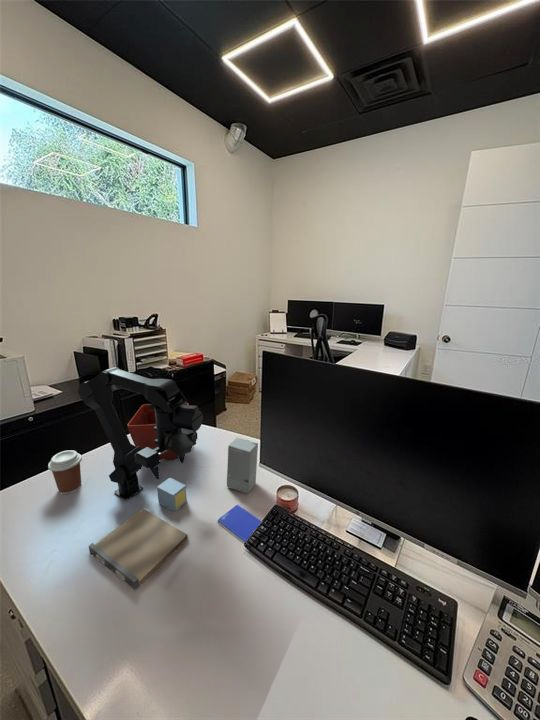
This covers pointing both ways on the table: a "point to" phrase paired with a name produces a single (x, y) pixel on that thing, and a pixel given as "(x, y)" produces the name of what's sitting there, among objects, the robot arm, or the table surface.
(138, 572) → the shelf board
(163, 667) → the table surface
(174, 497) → the box
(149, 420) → the plant pot
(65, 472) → the coffee cup
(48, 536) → the table surface
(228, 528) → the hard drive
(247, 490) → the skincare box
